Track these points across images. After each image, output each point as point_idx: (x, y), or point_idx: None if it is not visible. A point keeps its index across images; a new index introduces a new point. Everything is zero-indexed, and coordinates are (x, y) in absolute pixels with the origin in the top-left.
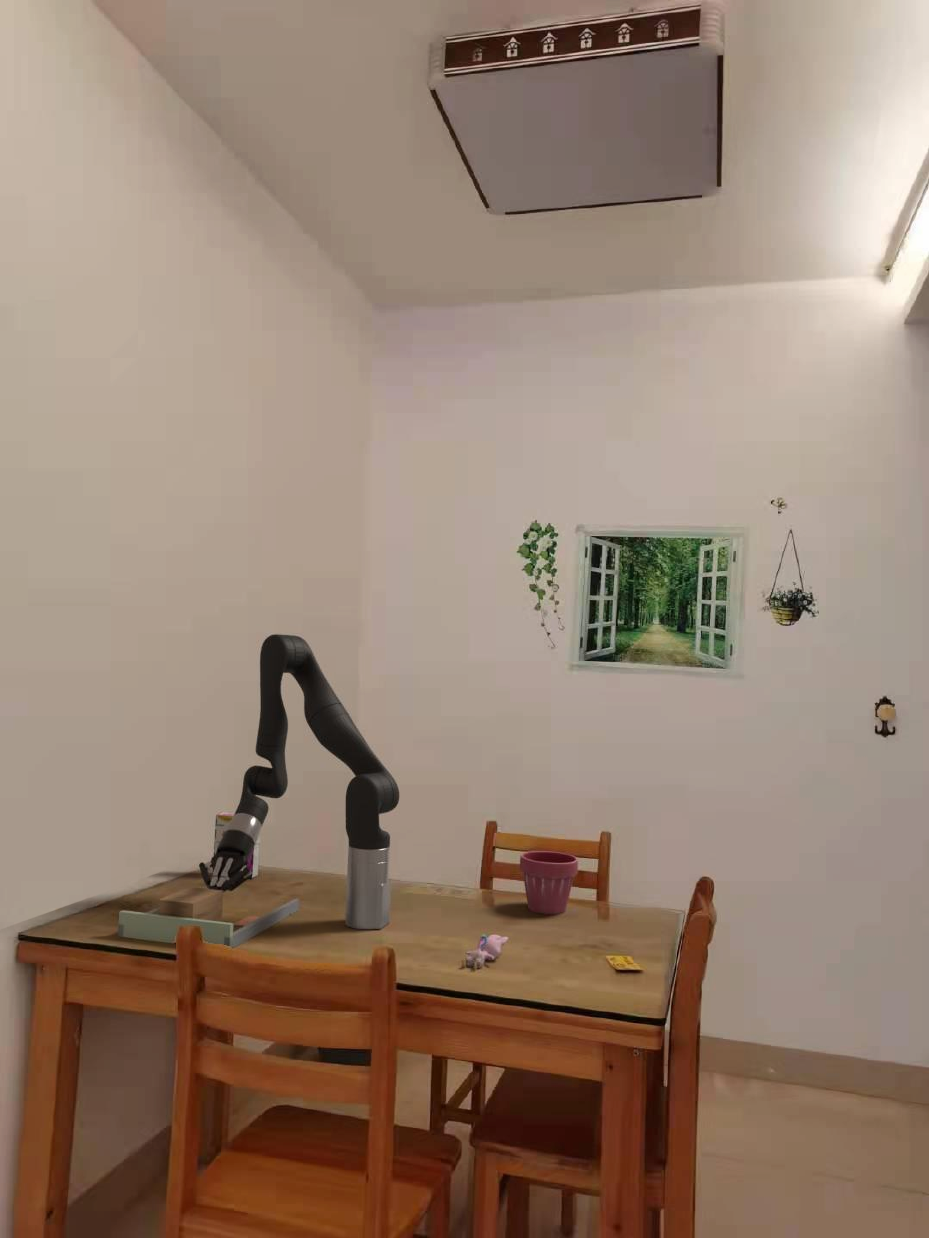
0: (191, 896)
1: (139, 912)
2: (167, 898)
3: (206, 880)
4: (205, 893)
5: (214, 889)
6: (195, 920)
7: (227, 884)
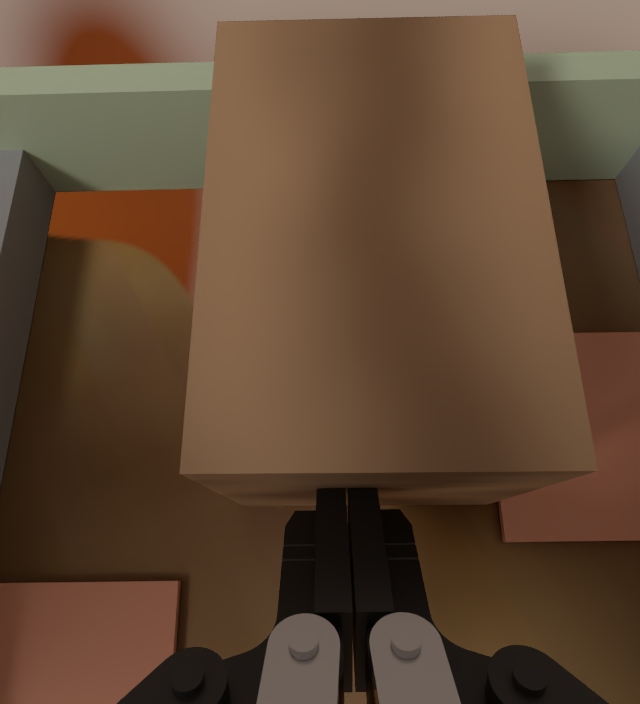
0: (345, 168)
1: (603, 78)
2: (478, 57)
3: (520, 663)
4: (288, 296)
5: (344, 583)
6: (188, 66)
7: (193, 655)
